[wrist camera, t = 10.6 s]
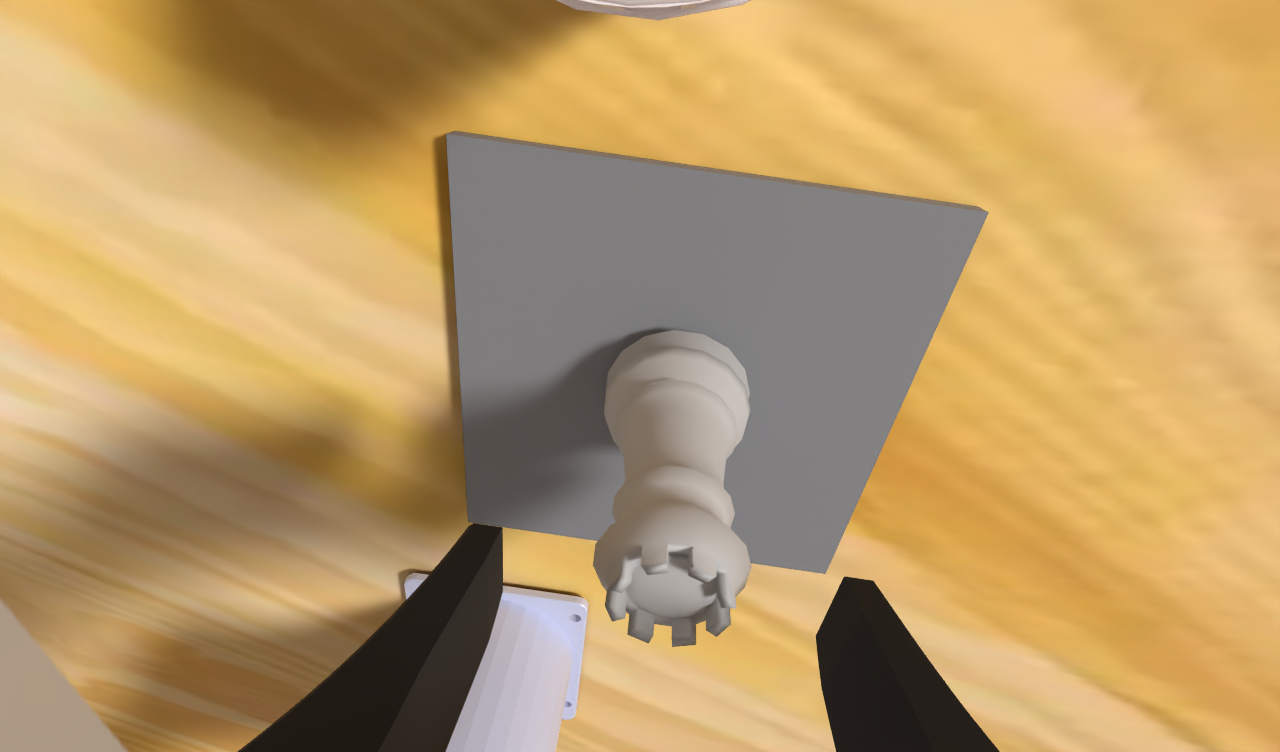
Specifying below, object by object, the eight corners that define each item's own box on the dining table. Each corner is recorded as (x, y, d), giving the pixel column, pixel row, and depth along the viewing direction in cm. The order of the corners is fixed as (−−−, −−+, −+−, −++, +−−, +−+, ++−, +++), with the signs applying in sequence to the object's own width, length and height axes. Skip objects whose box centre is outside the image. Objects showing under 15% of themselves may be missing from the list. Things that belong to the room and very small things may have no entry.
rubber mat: (822, 561, 22) (825, 573, 21) (473, 510, 22) (468, 521, 21) (977, 206, 15) (988, 212, 14) (454, 130, 15) (446, 133, 14)
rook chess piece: (750, 320, 16) (797, 524, 9) (746, 441, 18) (781, 677, 11) (600, 324, 16) (536, 522, 10) (613, 443, 19) (570, 670, 12)
